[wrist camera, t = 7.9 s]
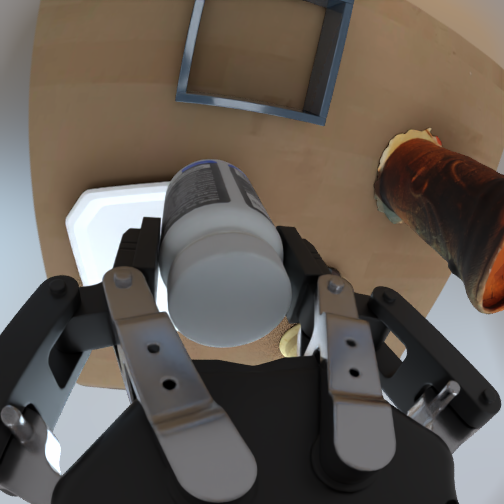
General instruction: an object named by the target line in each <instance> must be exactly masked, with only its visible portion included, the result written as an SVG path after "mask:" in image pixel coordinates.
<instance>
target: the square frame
mask: <svg viewBox="0 0 504 504" xmlns="http://www.w3.org/2000/svg"><path fill="white" fill-rule="evenodd" d="M303 1H306V2H310V3H313V4H316V5H319V6H322V7H325V8H327V9H326V13H325V18H324V22H323V27H322V31H321V35H320V40H319V44H318V48H317V52H316V57H315V61H314V65H313V70H312V74H311V78H310V82H309V86H308V91H307V95H306V99H305V103H304V107H303V110H301V109H297V108H292V107H288V106H283V105H278V104H273V103H268V102H263V101H258V100H252V99H246V98H240V97H234V96H227V95H221V94H213V93H205V92H197V91H188V90H187V84H188V79H189V73H190V68H191V63H192V57H193V52H194V47H195V43H196V38H197V33H198V29H199V24H200V20H201V15H202V11H203V7H204V3H205V0H195V3H194V7H193V11H192V16H191V20H190V25H189V29H188V34H187V39H186V43H185V48H184V53H183V59H182V64H181V69H180V75H179V81H178V86H177V93H176V99H175V101H177V102H187V103H197V104H205V105H213V106H221V107H228V108H235V109H241V110H247V111H253V112H259V113H264V114H270V115H275V116H280V117H285V118H290V119H295V120H299V121H304V122H308V123H313V124H317V125H321V126H325V122H326V118H327V114H328V110H329V106H330V102H331V99H332V95H333V90H334V86H335V82H336V78H337V74H338V70H339V66H340V62H341V57H342V53H343V49H344V45H345V40H346V36H347V31H348V27H349V23H350V18H351V13H352V9H353V4H354V0H303Z"/></svg>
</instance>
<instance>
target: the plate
mask: <svg viewBox="0 0 504 504" xmlns="http://www.w3.org/2000/svg"><path fill="white" fill-rule="evenodd" d="M170 182H171V181H164V182H152V183H140V184H130V185H120V186H110V187H101V188H93V189H88V190H86V191H84V192H83V193H82V195H81V196H80V197H79V199H78V200H77V202H76V203H75V205H74V206H73V208H72V209H71V211H70V212H69V214H68V215H67V217H66V222H65V224H66V228H67V232H68V236H69V239H70V243H71V247H72V250H73V254H74V257H75V261H76V264H77V267H78V271H79V274H80V277H81V280H82V283H83V286H90V285H95V284H98V283H100V282H102V278H103V276H104V274H105V273H106V272H107V271H109V270H110V269H112V268H113V265H114V261H115V258H116V255H117V251H118V249H119V245H120V242H121V238H122V235H123V234H124V233H125V232H126V231H127V230H128V229H129V228H141V224H142V220H143V217H159V218H161V226H162V218H163V209H164V201H165V195H166V191H167V188H168V186H169V183H170ZM160 236H161V233H160ZM156 305H157V307H158V309H159V311H160V312H162V311H166V312H167V314H168V315H169V311H168V302H167V288H166V286H165V284H164V283H163V280H162V278H161V274H160V270H159V273H158V286H157V300H156ZM169 317H170V315H169ZM170 319H171V318H170ZM171 321H172V320H171ZM172 323H173V322H172ZM173 325H174V324H173ZM174 327H175V325H174ZM175 329H176V331H178V329H177V328H176V327H175Z"/></svg>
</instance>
